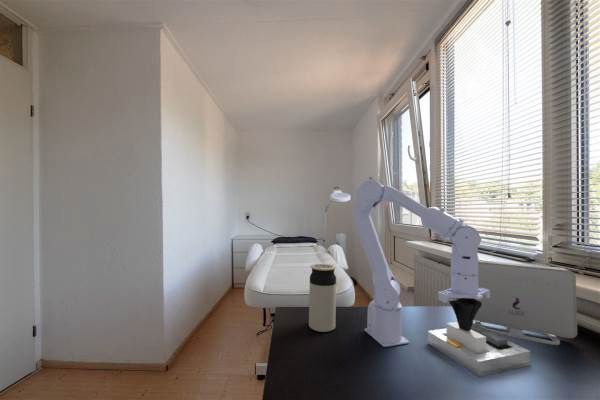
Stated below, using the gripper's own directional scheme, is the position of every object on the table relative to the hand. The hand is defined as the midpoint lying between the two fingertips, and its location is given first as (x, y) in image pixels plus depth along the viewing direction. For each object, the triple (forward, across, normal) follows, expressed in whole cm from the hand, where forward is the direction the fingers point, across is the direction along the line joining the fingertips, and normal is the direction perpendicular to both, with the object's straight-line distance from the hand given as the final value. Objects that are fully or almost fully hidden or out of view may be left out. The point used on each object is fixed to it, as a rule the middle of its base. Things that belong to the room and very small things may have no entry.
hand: (464, 328), depth 61 cm
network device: (+7, +27, +6) cm, 28 cm away
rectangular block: (+6, 0, 0) cm, 6 cm away
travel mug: (+7, -28, +23) cm, 37 cm away
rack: (+6, +4, 0) cm, 7 cm away
